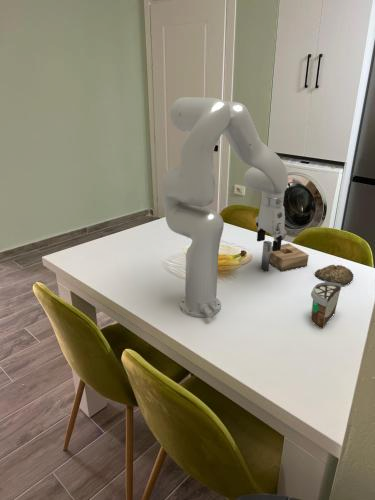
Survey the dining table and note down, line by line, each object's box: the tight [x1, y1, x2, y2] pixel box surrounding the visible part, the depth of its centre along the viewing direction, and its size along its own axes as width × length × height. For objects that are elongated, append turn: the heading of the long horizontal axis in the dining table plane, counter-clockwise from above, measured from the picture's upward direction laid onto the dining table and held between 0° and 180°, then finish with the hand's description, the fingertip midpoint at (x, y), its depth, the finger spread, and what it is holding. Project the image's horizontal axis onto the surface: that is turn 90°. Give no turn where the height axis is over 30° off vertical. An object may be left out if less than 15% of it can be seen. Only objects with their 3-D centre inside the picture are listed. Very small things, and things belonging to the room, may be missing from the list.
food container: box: [310, 281, 342, 329], centre depth 109 cm, size 12×6×10 cm, turn 141°
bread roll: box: [314, 264, 354, 286], centre depth 134 cm, size 13×12×5 cm
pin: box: [260, 240, 273, 272], centre depth 138 cm, size 3×3×11 cm
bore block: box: [269, 243, 309, 273], centre depth 145 cm, size 12×12×5 cm
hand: (268, 245), depth 137 cm, fingers open, 9 cm apart
